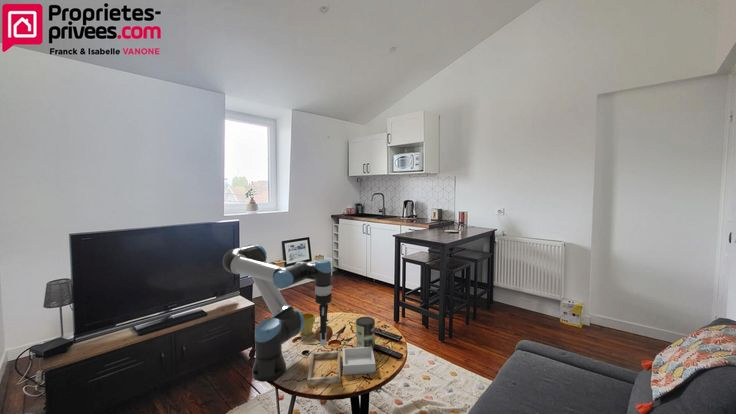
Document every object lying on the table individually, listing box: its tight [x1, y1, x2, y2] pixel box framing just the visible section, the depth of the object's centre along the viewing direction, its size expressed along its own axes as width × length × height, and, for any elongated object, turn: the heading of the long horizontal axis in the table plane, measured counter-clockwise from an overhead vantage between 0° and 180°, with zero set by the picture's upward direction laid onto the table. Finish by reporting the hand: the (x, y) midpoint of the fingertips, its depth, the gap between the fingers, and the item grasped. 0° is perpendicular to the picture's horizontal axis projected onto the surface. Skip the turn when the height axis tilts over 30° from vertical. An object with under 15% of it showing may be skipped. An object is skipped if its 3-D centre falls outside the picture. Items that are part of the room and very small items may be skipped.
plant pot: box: [300, 312, 316, 336], centre depth 177 cm, size 10×10×10 cm
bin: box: [342, 346, 377, 376], centre depth 144 cm, size 15×15×4 cm
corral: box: [306, 350, 341, 386], centre depth 141 cm, size 14×21×2 cm
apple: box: [315, 325, 333, 343], centre depth 140 cm, size 8×8×8 cm
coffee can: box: [355, 316, 376, 350], centre depth 161 cm, size 10×10×14 cm
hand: (324, 340), depth 140 cm, fingers closed on apple, 8 cm apart
